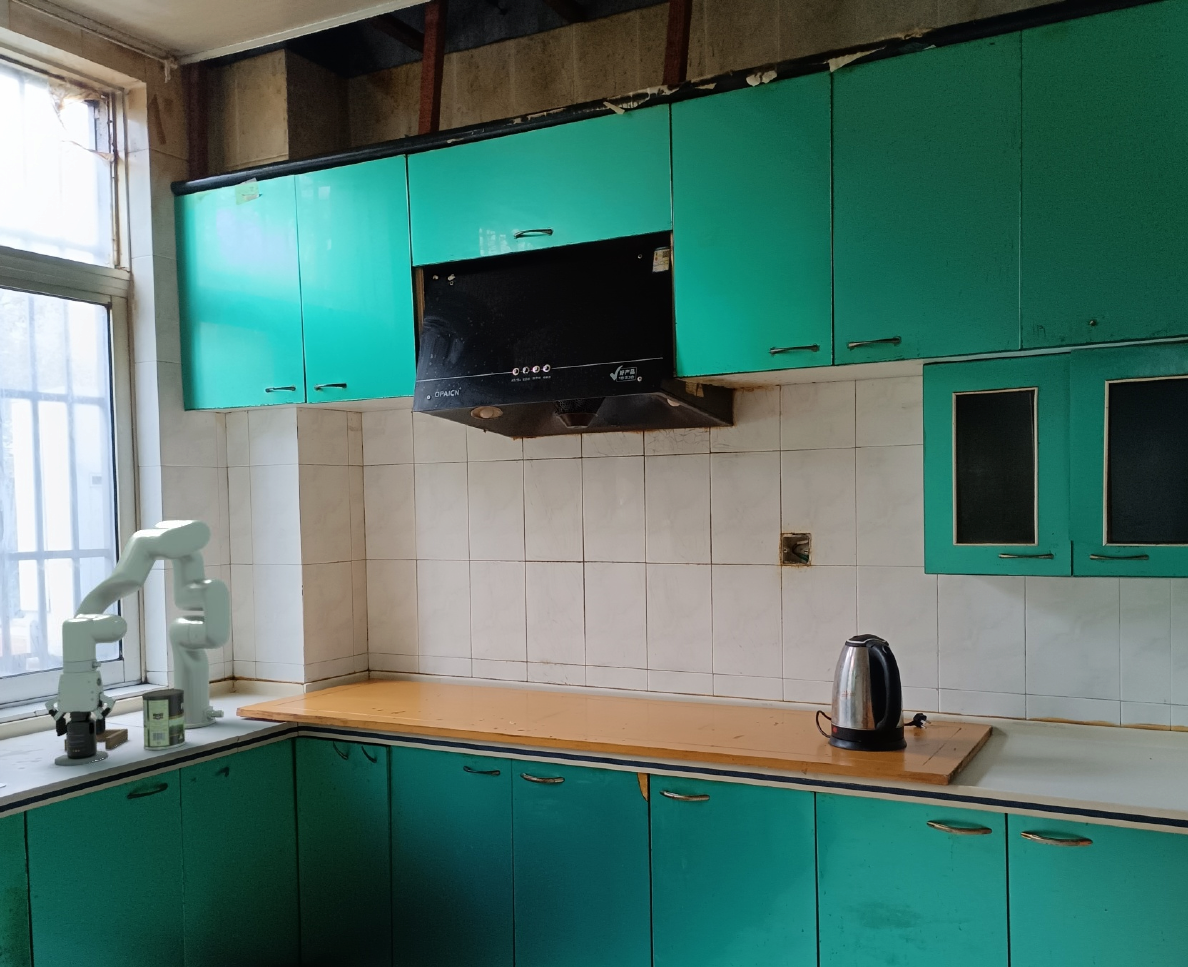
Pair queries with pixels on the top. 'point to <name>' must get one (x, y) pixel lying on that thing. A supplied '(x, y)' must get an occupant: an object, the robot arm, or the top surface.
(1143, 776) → the top surface
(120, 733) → the bottle holder
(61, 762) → the rubber mat
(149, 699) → the coffee can
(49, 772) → the top surface
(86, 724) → the supplement bottle
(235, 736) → the top surface
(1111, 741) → the top surface
